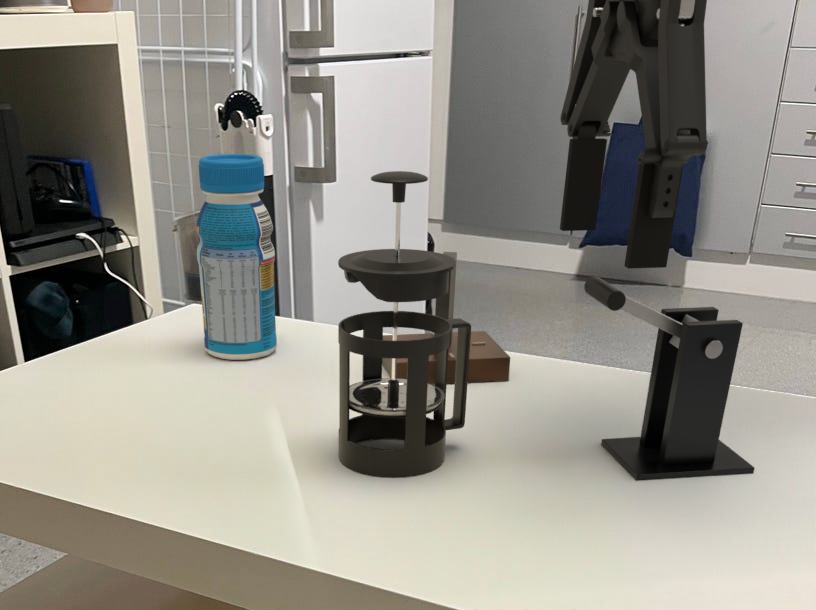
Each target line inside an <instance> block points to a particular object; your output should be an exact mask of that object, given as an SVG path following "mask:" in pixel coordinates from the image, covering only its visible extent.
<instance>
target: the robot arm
mask: <svg viewBox="0 0 816 610" xmlns="http://www.w3.org/2000/svg"><path fill="white" fill-rule="evenodd" d="M707 2H708V0H588V3H587V9H586V17H585V22H584V24H583V29H582V33H581V37H580V41H579V45H578V48H577V52H576V55H575V59H574V63H573V67H572V71H571V75H570V79H569V83H568V86H567V90H566V94H565V98H564V101H563V105H562V109H561V113H560V117H559V118H560V120H559V121H560V123H561V125H562V126H567V128H566V129H567V137H569V143H568V151H567V160H566V169H565V177H564V179H565V180H564V186H563V187H564V188H563V195H562V204H561V213H560V223H559V230H560V231H562V232H574V231H575V232H579V231H596V229H597V221H598V213H599V206H600V199H601V191H602V190H601V189H602V182H603V176H604V175H603V174H604V168H605V167H604V166H605V159H606V152H607V145H608V139H607V138H605V137H611V136H612V132H611V128H610V127H611V126H610V124H609V119H610V117H611V114H612V112H613V110H614V107H615V105H616V103H617V100H618V99H619V96H620V94H621V91H622V89H623V87H624V85H625V83H626V81H627V78H628V76H629V73H630V71H633V72H634V74H635V78H636V85H637V93H638V99H639V106H640V113H641V122H642V127H643V129H642V130H643V134H644V142H645V146H644V147H643V150H641V152H640V154H639V155H638V157H637V158H636V162H637V163H638V171H637V177H636V185H635V190H634V198H633V204H632V212H631V216H630V217H631V219H630V225H629V230H628V231H629V232H628V237H627V238H628V239H627V245H626V252H625V259H624V264H623V265H624V267H625V268H627V269H657V268H658V269H663V268H667V266H668V265H667V264H668V261H669V260H668V259H669V254H670V247H671V241H672V236H673V230H674V225H675V217H676V212H677V207H678V200H679V193H680V189H681V183H682V177H683V170H684V165H685V164H687V163H689V162H690V160H691V157H694V156H702V155H704V153H705V152H706V149H707V144H708V143H707V141H708V139H707V137H708V135H707V94H706V91H707V90H706V88H707V87H706V53H705V52H706V48H705V47H706V46H705V45H706V44H705V20H706V11H707ZM599 137H600V138H599ZM601 137H602V138H601Z"/></svg>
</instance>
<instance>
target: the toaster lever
mask: <svg viewBox="0 0 816 610" xmlns="http://www.w3.org/2000/svg"><path fill="white" fill-rule="evenodd" d="M583 288H584V289H583V290H584V292H585V293H586V294H587V295H588V296H589V297H591V298H592V299H594V300H595V301H597V302H598V303H600V304H601V305H603V306H604V307H605V308H607V309H608V310H610V311H613V312H617V311H619V310H620V311H623V312H625V313H627V314H629V315H631V316H633V317H635V318H637V319H638V320H641V321H643V322H646V323H648V324H650V325H652V326H654V327H655V328H660V329H662V330H664V331H666V332H668V333H670V334H672V335H673V336H672V338H671V340H670V341H669V343H671V344H672V345H674V346H675V347H677V348H679V342H680V336H681V331H682V325H683V322H697V321H699V320H697V319H695V318H693V317H691V316H689V315H687V314H686V315H685V317H684V318H683V320H682V322H681V323H680V322H678V321H676V320H674V319H672V318H670V317H668V316H666V315H664V314H662V313H661V311H658V310H656V309H654V308H652V307H650V306H648V305H646V304H644V303H642V302H640V301H638V300H636V299H635V298H632V297H630V296H628V295H626V294H625V292H623V291H622V290H619V289H618V288H616V287H615V286H613V285H612V284H610V283H609V282H607V281H606V280H604V279H602V278H601V277H599V276H597V275H593V276H590V277H589V278H587V280H586V281H585V283H584V286H583Z"/></svg>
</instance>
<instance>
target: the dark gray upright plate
mask: <svg viewBox="0 0 816 610" xmlns="http://www.w3.org/2000/svg"><path fill="white" fill-rule="evenodd" d="M442 254H445V255H447V256H450V257H452V258H454V259H455V261H456V262H457V259H458V252H457V251H443V252H442ZM456 276H457V265H456V266H455V268H454V269H453V270H451V271H449V287H448V293H447V294H445V295H443V296H442V297H438V298H435V310H434V311H435V312H434V315H435V316H438V317H441V318H443V319H446V320H447V319H454V314H455V313H454V311H455V296H456V295H455V294H456ZM453 330H454V329H452V332H453ZM433 333H434V332H433ZM437 335H438V334H437V333H434V337H435V336H437ZM451 340H452V335H451Z"/></svg>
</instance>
